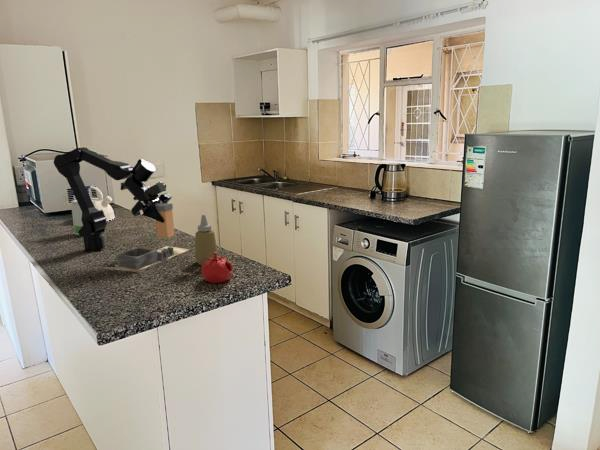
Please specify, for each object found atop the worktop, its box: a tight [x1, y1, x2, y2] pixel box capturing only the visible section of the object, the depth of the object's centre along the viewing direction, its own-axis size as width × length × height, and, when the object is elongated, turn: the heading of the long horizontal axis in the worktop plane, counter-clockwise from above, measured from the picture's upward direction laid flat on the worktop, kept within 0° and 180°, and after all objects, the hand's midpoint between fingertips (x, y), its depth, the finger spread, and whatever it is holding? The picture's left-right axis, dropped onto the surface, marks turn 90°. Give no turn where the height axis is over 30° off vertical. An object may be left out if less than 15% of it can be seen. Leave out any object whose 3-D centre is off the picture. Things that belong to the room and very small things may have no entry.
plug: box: [155, 203, 175, 239], centre depth 168 cm, size 5×5×12 cm
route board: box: [114, 245, 191, 274], centre depth 165 cm, size 26×12×5 cm, turn 154°
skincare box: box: [70, 199, 96, 236], centre depth 205 cm, size 8×7×16 cm
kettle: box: [70, 185, 116, 222], centre depth 233 cm, size 20×21×18 cm
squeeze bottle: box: [194, 214, 219, 268], centre depth 157 cm, size 8×8×18 cm
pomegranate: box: [200, 252, 234, 284], centre depth 143 cm, size 10×10×9 cm
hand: (167, 220), depth 168 cm, fingers closed on plug, 4 cm apart
